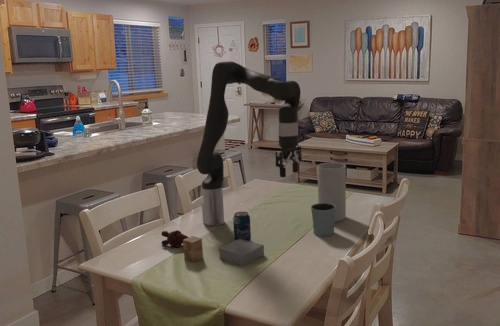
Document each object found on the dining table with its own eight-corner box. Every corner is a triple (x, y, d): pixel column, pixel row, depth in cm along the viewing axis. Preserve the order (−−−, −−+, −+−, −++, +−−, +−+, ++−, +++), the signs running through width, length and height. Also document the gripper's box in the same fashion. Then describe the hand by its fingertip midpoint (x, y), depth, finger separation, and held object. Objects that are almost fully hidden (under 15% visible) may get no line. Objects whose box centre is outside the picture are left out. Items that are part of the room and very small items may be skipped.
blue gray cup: (338, 230, 201) (338, 203, 199) (332, 239, 192) (331, 211, 190) (315, 228, 206) (315, 201, 203) (308, 236, 197) (307, 208, 194)
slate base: (219, 258, 178) (219, 248, 177) (240, 248, 187) (240, 238, 186) (243, 265, 171) (243, 255, 170) (264, 254, 180) (263, 245, 179)
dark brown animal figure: (197, 229, 192) (166, 229, 198) (187, 231, 185) (156, 230, 191) (197, 246, 191) (166, 245, 198) (187, 249, 185) (156, 247, 191)
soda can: (238, 245, 190) (237, 217, 187) (231, 240, 196) (230, 213, 193) (254, 242, 193) (252, 214, 190) (246, 237, 199) (245, 210, 196)
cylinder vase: (315, 221, 214) (314, 168, 209) (321, 212, 226) (321, 162, 220) (342, 223, 210) (342, 169, 204) (347, 214, 221) (348, 163, 216)
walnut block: (184, 259, 179) (182, 239, 177) (194, 255, 182) (192, 235, 181) (193, 262, 176) (192, 242, 174) (203, 258, 179) (201, 238, 178)
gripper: (290, 130, 188) (291, 169, 191) (269, 135, 177) (270, 177, 181) (306, 131, 183) (307, 172, 186) (285, 137, 172) (286, 180, 176)
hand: (289, 174), depth 184 cm, fingers open, 8 cm apart
